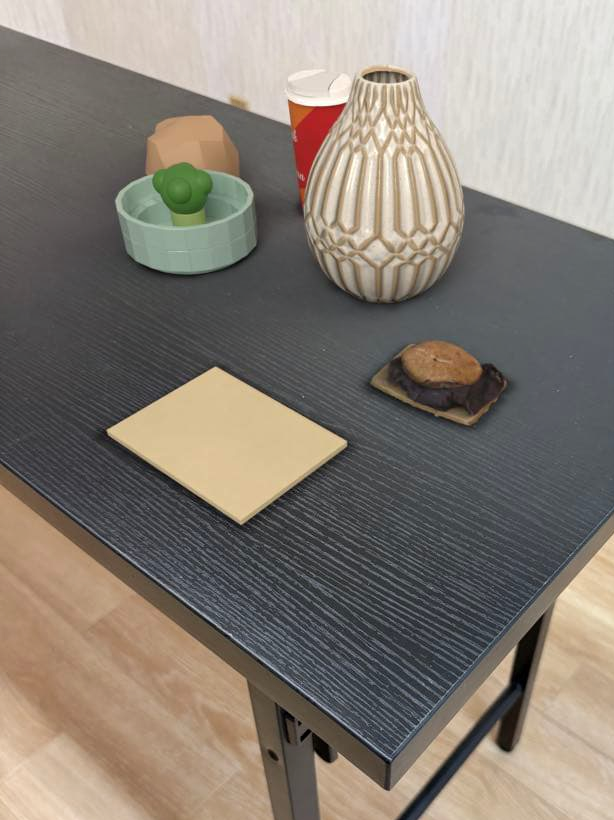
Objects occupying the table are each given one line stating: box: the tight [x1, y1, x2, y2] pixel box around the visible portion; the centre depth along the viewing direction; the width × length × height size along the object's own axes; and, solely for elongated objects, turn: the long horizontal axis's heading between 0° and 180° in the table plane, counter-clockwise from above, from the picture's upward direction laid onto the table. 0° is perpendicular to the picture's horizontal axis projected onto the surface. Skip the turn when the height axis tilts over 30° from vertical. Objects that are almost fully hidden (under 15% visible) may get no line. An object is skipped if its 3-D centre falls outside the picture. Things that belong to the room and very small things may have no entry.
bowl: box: [114, 169, 259, 275], centre depth 87 cm, size 14×14×6 cm
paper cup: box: [283, 68, 353, 211], centre depth 91 cm, size 8×8×14 cm
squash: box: [145, 114, 241, 179], centre depth 98 cm, size 11×20×9 cm, turn 24°
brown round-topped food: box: [369, 339, 508, 427], centre depth 72 cm, size 11×8×4 cm
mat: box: [106, 366, 348, 526], centre depth 67 cm, size 16×12×1 cm
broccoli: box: [152, 162, 213, 227], centre depth 86 cm, size 6×6×8 cm
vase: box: [302, 64, 466, 304], centre depth 78 cm, size 16×16×20 cm
